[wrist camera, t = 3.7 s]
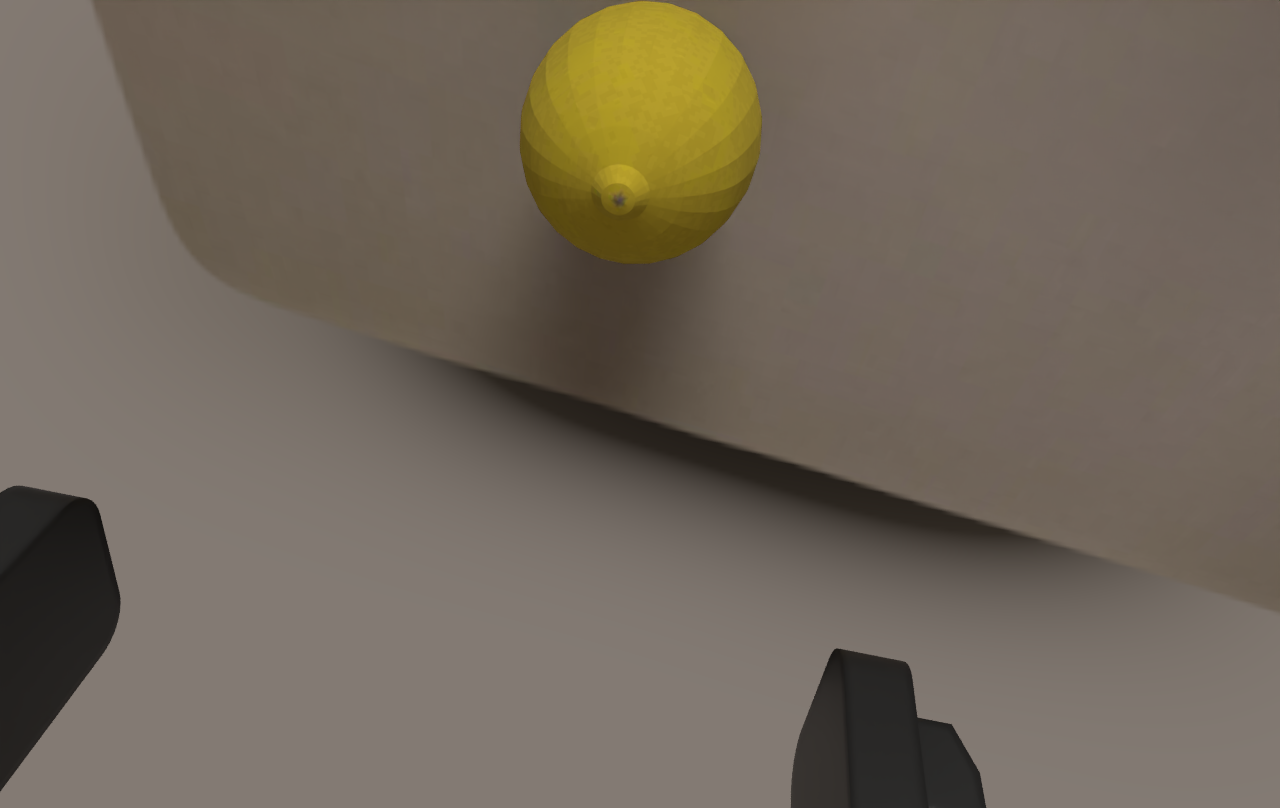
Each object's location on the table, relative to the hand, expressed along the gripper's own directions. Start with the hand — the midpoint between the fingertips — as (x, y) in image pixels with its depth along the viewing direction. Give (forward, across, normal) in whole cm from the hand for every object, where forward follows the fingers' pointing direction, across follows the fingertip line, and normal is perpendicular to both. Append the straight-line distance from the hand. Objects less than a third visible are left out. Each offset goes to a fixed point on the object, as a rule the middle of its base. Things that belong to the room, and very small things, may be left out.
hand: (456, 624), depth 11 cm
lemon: (+19, 0, 0) cm, 19 cm away
